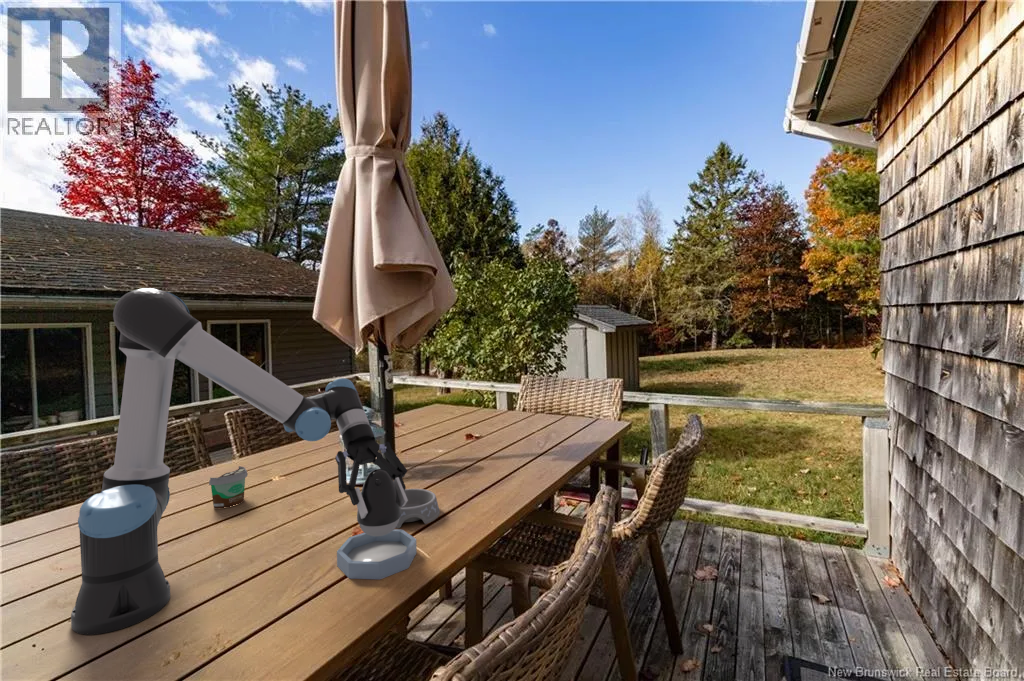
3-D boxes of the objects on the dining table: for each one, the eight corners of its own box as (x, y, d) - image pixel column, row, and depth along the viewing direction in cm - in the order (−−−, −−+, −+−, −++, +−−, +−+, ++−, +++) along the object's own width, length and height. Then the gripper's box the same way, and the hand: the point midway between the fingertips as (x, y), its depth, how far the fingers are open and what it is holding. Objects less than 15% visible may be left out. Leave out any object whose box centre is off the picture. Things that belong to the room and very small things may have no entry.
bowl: (402, 580, 103) (401, 564, 103) (327, 577, 104) (327, 562, 104) (421, 543, 120) (421, 529, 120) (357, 541, 121) (356, 528, 121)
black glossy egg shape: (356, 544, 106) (354, 478, 105) (358, 525, 116) (357, 464, 115) (402, 538, 109) (401, 474, 108) (400, 520, 119) (399, 461, 118)
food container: (227, 512, 140) (226, 479, 139) (209, 510, 141) (208, 478, 141) (257, 497, 152) (256, 466, 152) (241, 495, 153) (240, 465, 153)
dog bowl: (374, 508, 143) (374, 491, 143) (434, 500, 149) (433, 484, 149) (378, 532, 127) (378, 513, 127) (445, 522, 133) (445, 503, 133)
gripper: (390, 432, 130) (420, 504, 119) (308, 447, 115) (334, 531, 104) (399, 416, 126) (431, 489, 115) (315, 429, 111) (343, 515, 100)
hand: (385, 509), depth 110 cm, fingers closed on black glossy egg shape, 9 cm apart
